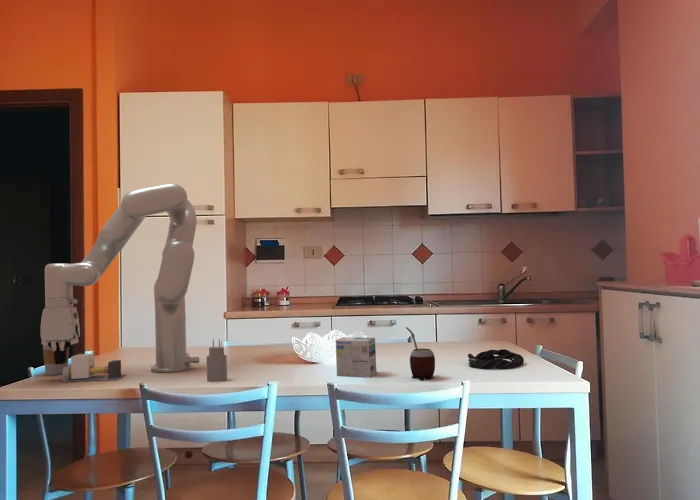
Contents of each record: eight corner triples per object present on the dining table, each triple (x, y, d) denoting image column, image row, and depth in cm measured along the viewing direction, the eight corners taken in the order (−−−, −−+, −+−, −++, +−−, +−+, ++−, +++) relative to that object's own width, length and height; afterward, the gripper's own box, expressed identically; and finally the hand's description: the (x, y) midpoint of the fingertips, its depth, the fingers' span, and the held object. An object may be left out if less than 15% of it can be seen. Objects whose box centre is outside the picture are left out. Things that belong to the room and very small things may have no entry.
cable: (519, 361, 174) (519, 348, 174) (530, 370, 160) (529, 355, 160) (466, 362, 176) (465, 349, 176) (471, 371, 162) (470, 356, 162)
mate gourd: (436, 375, 155) (434, 323, 155) (434, 382, 147) (432, 327, 147) (410, 375, 156) (408, 323, 157) (407, 381, 149) (405, 327, 149)
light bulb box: (377, 372, 161) (376, 336, 162) (370, 377, 155) (369, 340, 155) (343, 371, 165) (342, 336, 165) (335, 376, 159) (334, 339, 159)
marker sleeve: (94, 374, 167) (94, 353, 167) (88, 378, 163) (87, 356, 163) (78, 375, 167) (78, 354, 167) (71, 378, 162) (71, 356, 162)
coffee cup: (58, 376, 170) (57, 328, 171) (35, 376, 172) (34, 329, 172) (76, 371, 178) (76, 325, 179) (54, 370, 180) (54, 325, 180)
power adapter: (209, 379, 159) (208, 338, 159) (227, 379, 159) (226, 338, 159) (206, 381, 156) (205, 340, 156) (224, 381, 156) (223, 339, 156)
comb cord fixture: (125, 375, 169) (125, 359, 169) (116, 380, 162) (116, 363, 162) (70, 377, 168) (70, 360, 168) (59, 382, 161) (59, 365, 161)
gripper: (89, 301, 169) (90, 360, 169) (41, 303, 168) (42, 362, 168) (78, 303, 162) (79, 364, 161) (27, 305, 161) (28, 366, 161)
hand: (60, 363), depth 165 cm, fingers closed
